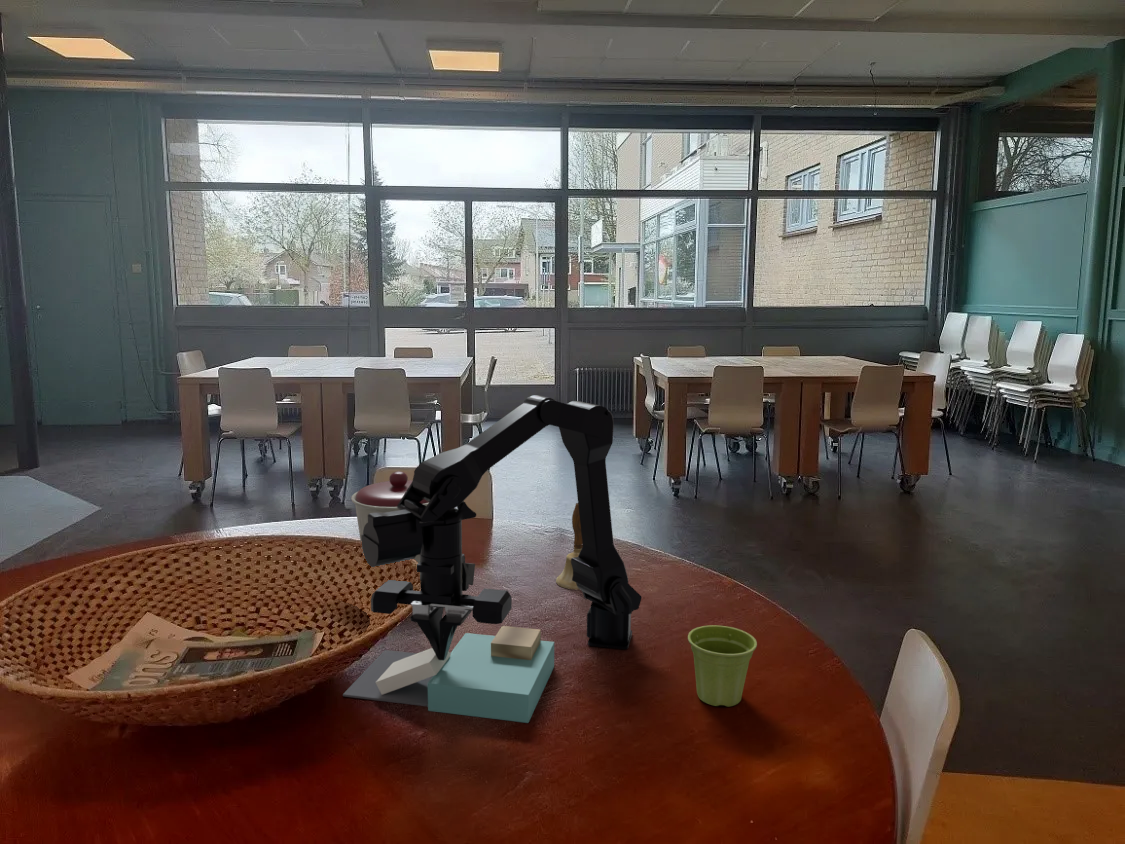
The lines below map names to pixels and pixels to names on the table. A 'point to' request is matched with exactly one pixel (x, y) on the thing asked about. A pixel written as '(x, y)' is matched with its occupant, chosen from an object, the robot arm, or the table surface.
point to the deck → (490, 681)
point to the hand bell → (572, 554)
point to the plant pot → (721, 662)
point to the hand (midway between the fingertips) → (442, 659)
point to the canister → (381, 498)
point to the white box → (410, 670)
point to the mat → (406, 695)
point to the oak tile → (516, 642)
